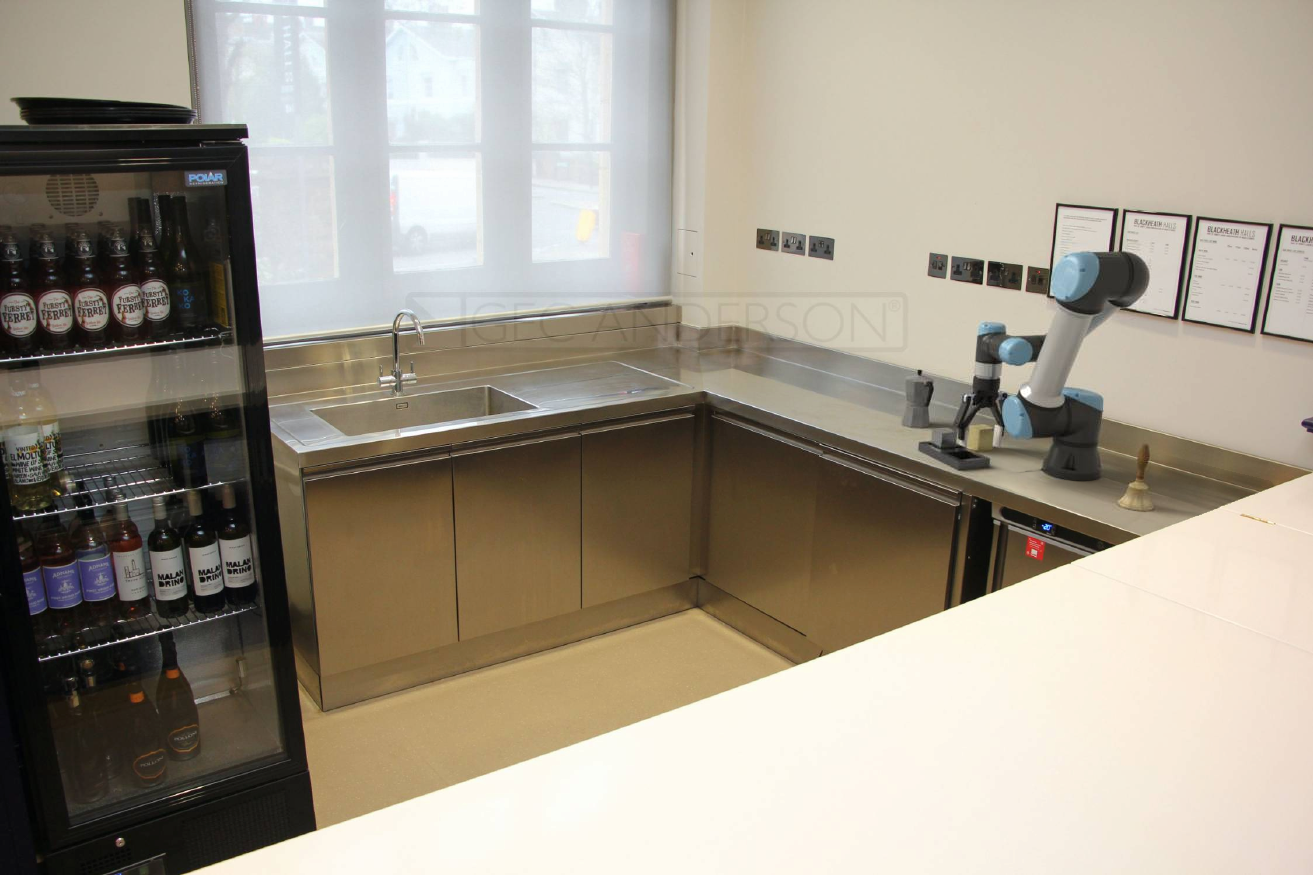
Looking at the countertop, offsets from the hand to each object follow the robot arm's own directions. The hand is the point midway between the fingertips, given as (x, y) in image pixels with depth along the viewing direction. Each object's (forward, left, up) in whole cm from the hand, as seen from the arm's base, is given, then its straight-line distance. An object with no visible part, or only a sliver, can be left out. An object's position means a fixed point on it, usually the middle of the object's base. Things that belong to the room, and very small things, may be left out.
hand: (979, 448), depth 298 cm
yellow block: (0, 0, 0) cm, 0 cm away
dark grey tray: (-7, +14, 0) cm, 16 cm away
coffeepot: (+29, +3, 0) cm, 29 cm away
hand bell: (-53, -8, 0) cm, 54 cm away
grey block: (-2, +14, 0) cm, 14 cm away
